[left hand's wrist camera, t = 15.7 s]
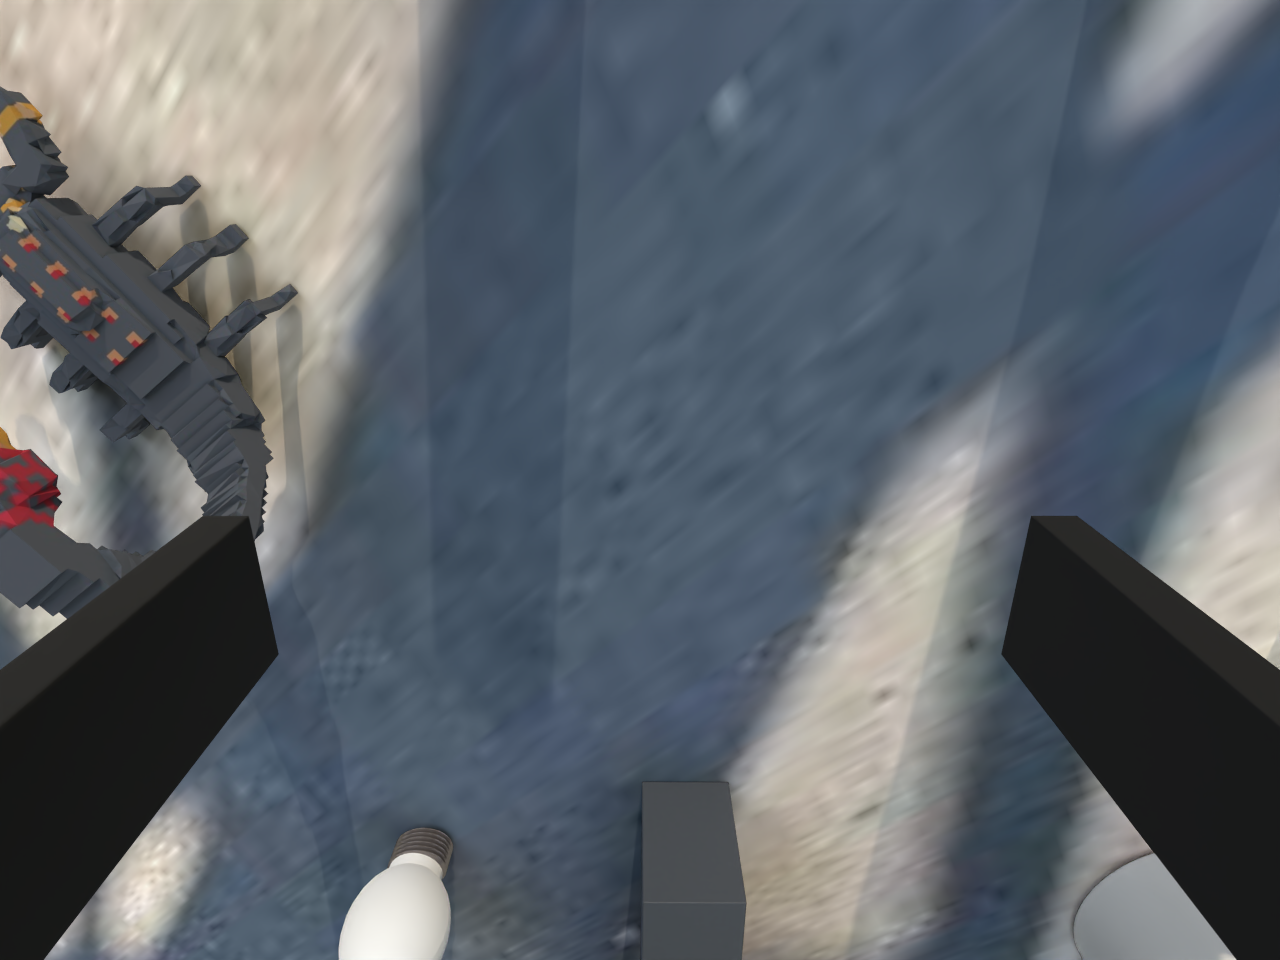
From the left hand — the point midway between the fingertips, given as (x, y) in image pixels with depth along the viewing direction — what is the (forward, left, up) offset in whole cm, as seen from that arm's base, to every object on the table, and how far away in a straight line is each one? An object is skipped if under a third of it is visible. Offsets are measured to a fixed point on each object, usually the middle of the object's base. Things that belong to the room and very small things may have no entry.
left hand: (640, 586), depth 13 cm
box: (+31, +35, -30) cm, 55 cm away
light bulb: (+39, +16, -30) cm, 51 cm away
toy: (+18, -20, -30) cm, 40 cm away
